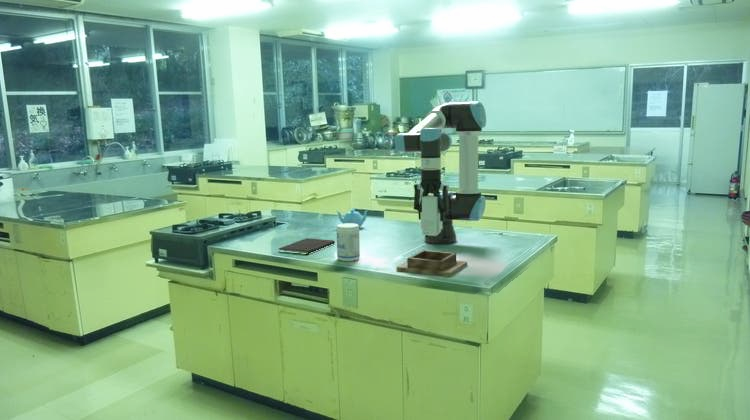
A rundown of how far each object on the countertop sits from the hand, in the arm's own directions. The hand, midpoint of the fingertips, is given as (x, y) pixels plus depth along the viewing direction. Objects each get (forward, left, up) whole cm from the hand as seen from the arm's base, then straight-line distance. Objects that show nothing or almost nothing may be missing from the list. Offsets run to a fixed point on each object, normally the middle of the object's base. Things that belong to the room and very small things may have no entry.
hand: (431, 228), depth 209 cm
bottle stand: (0, 0, -16) cm, 16 cm away
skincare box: (0, 0, -2) cm, 2 cm away
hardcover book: (-67, +9, -17) cm, 70 cm away
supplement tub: (-38, -1, -16) cm, 41 cm away
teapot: (-73, +58, -16) cm, 95 cm away
